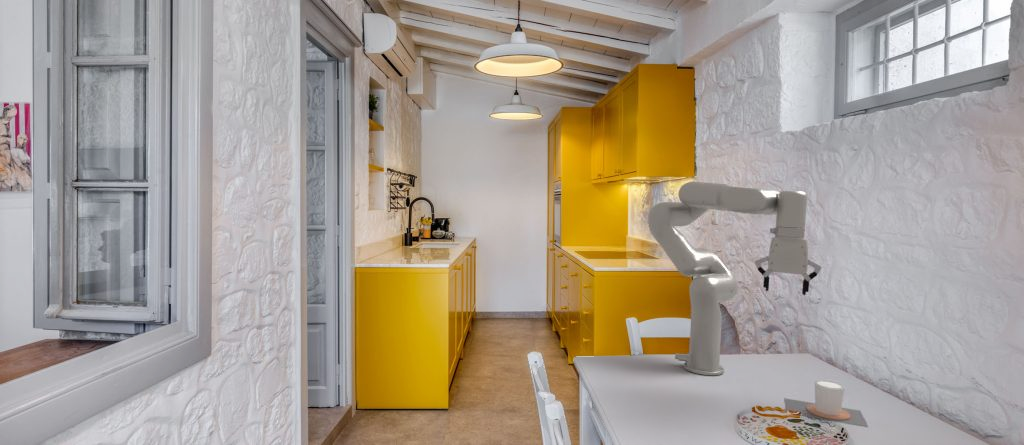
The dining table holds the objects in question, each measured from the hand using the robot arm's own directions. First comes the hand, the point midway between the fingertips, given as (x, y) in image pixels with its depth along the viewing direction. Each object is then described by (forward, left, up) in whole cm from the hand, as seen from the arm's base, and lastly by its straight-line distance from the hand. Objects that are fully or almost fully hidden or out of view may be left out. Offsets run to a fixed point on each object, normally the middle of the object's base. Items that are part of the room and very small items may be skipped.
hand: (785, 292), depth 160 cm
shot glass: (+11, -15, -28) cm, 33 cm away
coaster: (+11, -15, -28) cm, 34 cm away
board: (+10, -15, -30) cm, 35 cm away
